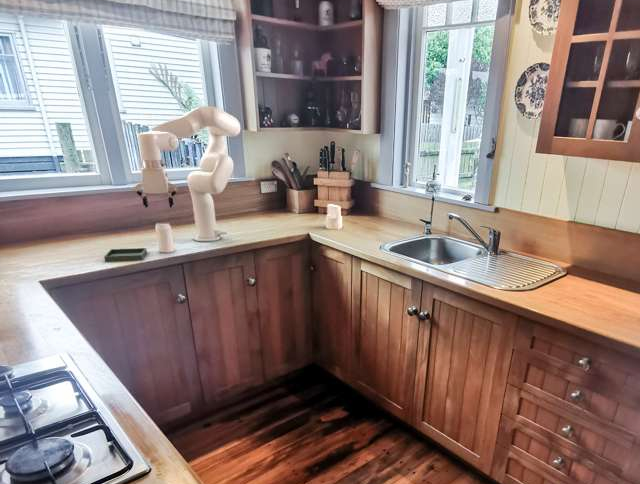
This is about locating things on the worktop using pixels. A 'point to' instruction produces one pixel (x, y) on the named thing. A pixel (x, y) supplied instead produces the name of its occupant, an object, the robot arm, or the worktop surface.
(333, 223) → the cylinder with rectangular tab
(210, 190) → the robot arm
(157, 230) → the can
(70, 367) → the worktop surface
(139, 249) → the tray
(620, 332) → the worktop surface
